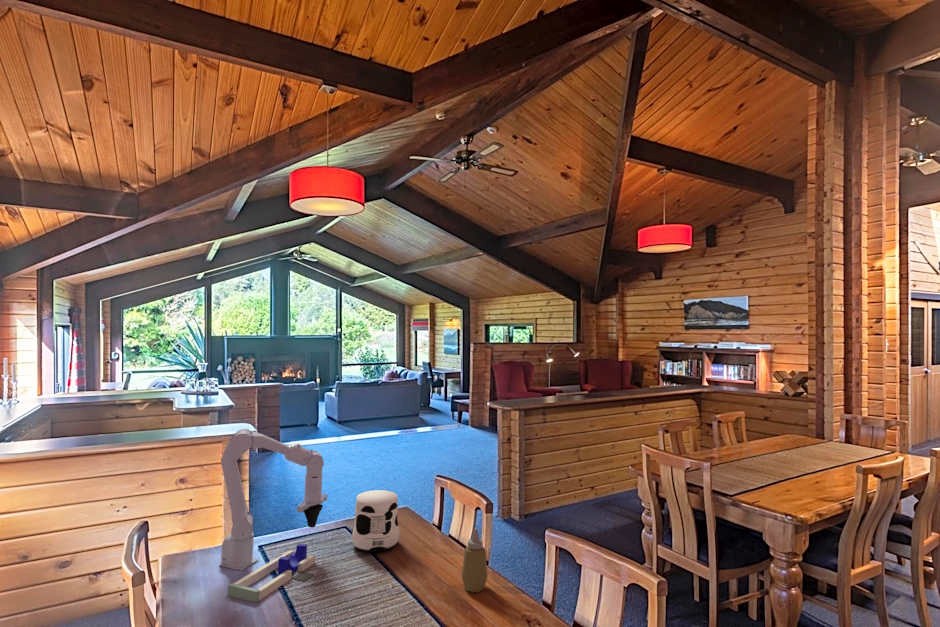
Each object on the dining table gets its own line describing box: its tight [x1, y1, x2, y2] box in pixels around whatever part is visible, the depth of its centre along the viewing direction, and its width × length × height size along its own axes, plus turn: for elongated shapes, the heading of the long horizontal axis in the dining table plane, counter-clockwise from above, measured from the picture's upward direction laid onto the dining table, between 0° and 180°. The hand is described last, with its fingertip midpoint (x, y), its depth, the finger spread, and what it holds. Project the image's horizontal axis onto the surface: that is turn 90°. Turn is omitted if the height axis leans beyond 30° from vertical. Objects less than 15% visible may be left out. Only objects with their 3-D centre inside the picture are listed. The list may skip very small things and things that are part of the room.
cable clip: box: [277, 543, 308, 577], centre depth 161 cm, size 12×4×6 cm, turn 169°
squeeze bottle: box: [461, 528, 488, 593], centre depth 152 cm, size 8×8×18 cm
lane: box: [226, 550, 316, 603], centre depth 155 cm, size 10×27×3 cm, turn 161°
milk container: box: [351, 489, 400, 552], centre depth 181 cm, size 17×17×18 cm
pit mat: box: [290, 571, 315, 583], centre depth 156 cm, size 5×5×1 cm
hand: (311, 526), depth 172 cm, fingers closed
